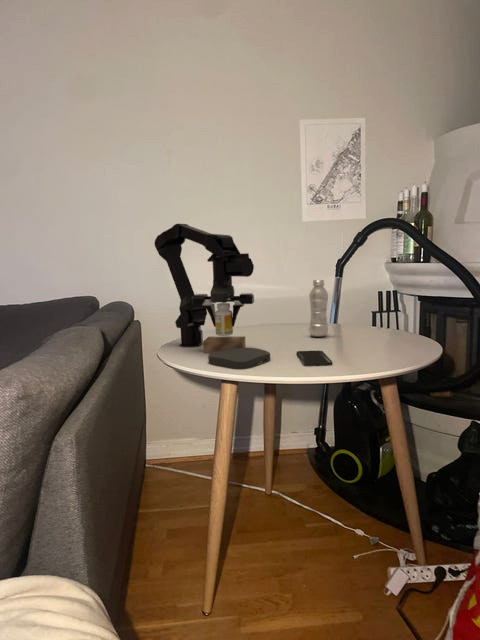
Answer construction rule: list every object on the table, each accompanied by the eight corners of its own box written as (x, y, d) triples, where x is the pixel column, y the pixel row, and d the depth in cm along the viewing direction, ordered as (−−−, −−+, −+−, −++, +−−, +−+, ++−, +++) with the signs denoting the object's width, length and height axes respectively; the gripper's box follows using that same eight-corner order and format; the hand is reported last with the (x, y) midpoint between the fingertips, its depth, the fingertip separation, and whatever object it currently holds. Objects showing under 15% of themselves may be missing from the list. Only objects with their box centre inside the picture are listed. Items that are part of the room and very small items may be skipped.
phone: (321, 350, 128) (333, 362, 113) (321, 354, 128) (333, 366, 113) (295, 351, 128) (303, 363, 113) (295, 354, 128) (303, 367, 113)
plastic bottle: (306, 335, 155) (306, 280, 152) (324, 334, 156) (324, 279, 153) (312, 339, 149) (312, 281, 146) (331, 337, 150) (331, 280, 147)
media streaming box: (202, 364, 120) (202, 353, 120) (236, 354, 131) (236, 344, 131) (243, 372, 111) (242, 360, 110) (275, 360, 122) (275, 350, 121)
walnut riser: (203, 353, 132) (203, 341, 132) (209, 347, 140) (208, 336, 140) (242, 353, 131) (242, 341, 130) (245, 347, 138) (245, 336, 138)
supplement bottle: (233, 332, 137) (233, 302, 136) (231, 336, 132) (231, 304, 130) (217, 333, 138) (216, 302, 136) (214, 336, 132) (213, 304, 131)
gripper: (186, 278, 125) (188, 331, 128) (249, 277, 123) (251, 331, 125) (195, 276, 136) (197, 325, 139) (253, 275, 134) (254, 324, 136)
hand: (224, 326), depth 134 cm, fingers open, 5 cm apart
